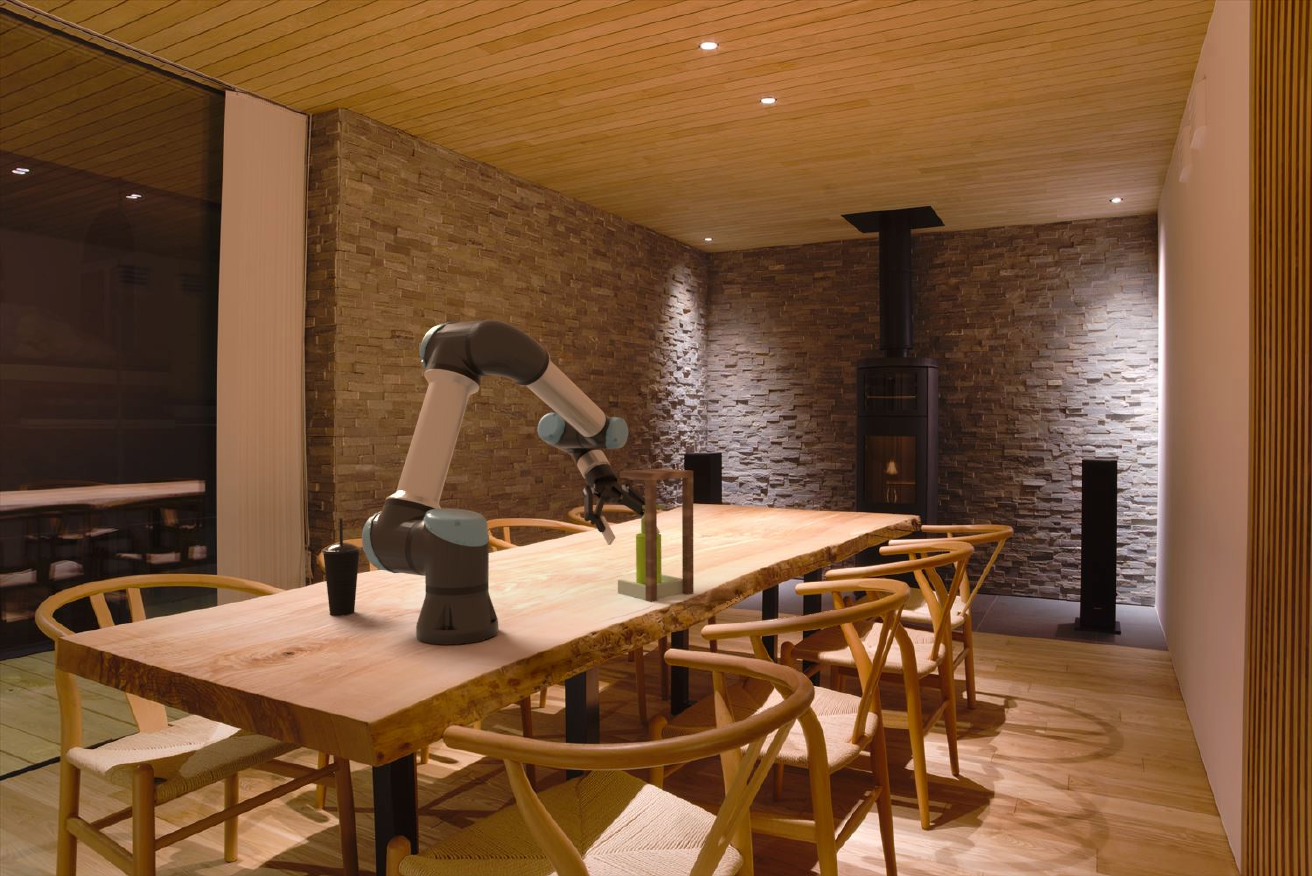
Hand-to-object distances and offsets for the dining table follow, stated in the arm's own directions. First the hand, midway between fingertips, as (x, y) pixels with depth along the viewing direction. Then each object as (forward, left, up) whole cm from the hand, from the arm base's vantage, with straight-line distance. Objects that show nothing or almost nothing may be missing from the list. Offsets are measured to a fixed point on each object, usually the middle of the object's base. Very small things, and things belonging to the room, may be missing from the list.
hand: (634, 538), depth 202 cm
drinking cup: (-62, +21, -12) cm, 67 cm away
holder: (0, -7, -12) cm, 14 cm away
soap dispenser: (0, -6, -12) cm, 13 cm away
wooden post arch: (0, -9, -12) cm, 15 cm away
